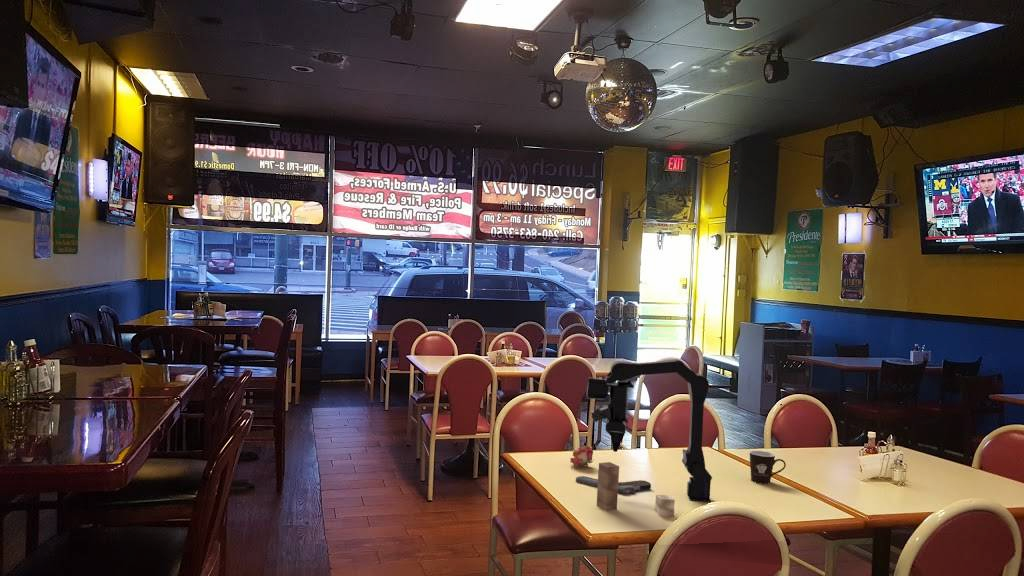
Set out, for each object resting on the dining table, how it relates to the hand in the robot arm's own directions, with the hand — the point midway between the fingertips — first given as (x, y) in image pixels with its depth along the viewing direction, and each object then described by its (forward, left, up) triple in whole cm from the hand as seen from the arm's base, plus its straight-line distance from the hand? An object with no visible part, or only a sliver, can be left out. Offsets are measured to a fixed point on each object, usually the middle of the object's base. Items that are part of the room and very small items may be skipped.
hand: (616, 448), depth 237 cm
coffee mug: (-54, -28, -14) cm, 63 cm away
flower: (+11, -30, -14) cm, 35 cm away
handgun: (0, -8, -15) cm, 17 cm away
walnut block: (+3, +17, -14) cm, 23 cm away
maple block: (-14, +18, -14) cm, 27 cm away
